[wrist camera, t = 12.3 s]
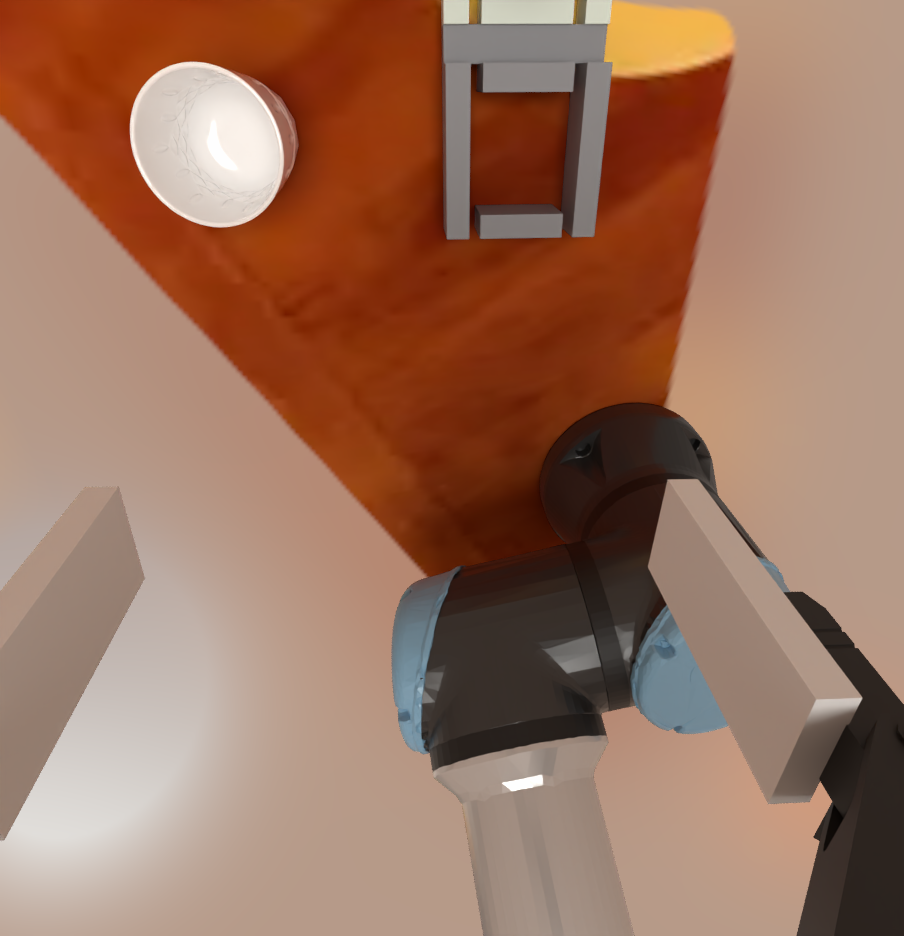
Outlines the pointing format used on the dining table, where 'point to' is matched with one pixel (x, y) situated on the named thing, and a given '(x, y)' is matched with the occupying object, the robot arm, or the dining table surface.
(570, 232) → the frame
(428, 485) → the dining table surface
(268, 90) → the white cup
